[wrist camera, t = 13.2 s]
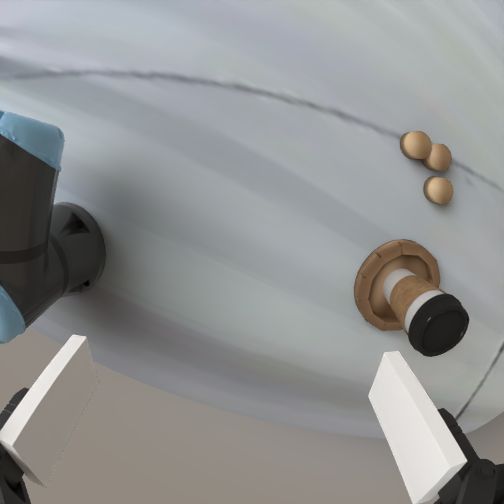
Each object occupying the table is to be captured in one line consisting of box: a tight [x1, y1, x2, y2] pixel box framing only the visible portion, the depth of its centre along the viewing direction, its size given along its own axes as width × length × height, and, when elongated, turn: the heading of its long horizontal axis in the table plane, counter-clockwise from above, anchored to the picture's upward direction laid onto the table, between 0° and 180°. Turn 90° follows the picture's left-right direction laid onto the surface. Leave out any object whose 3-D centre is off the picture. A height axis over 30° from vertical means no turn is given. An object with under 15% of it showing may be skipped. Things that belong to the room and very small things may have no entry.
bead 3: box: [423, 176, 453, 205], centre depth 39 cm, size 4×4×3 cm
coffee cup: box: [383, 269, 469, 357], centre depth 37 cm, size 8×8×15 cm
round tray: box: [354, 239, 440, 331], centre depth 44 cm, size 15×15×2 cm
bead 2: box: [422, 144, 452, 171], centre depth 37 cm, size 4×4×3 cm
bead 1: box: [400, 131, 432, 159], centre depth 37 cm, size 4×4×3 cm
